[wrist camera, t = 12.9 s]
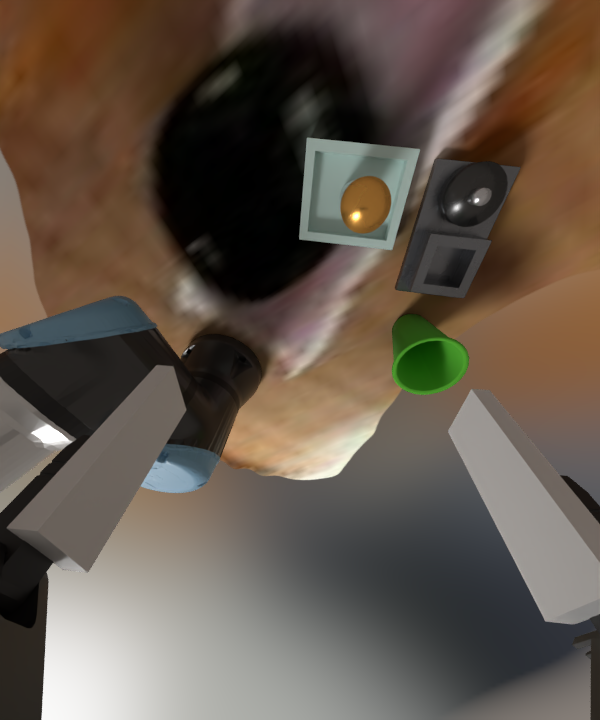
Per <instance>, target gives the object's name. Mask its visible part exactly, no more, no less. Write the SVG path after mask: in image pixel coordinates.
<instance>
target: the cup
mask: <svg viewBox="0 0 600 720" xmlns="http://www.w3.org/2000/svg"><path fill="white" fill-rule="evenodd" d="M392 338H393V355H394V363H393V366H392V375H393V378H394V380H395V382H396V383H397V384H398V385H399V387H401V388H402V389H404V390H406V391H407V392H411V393H414V394H421V395H424V394H433V393H438V392H441V391H443V390H446V389H448V388H450V387H451V386H453V385H454V384H456V383H457V382H458V381H459V380H460V379H461V378H462V377H463V375H464V374H465V373H466V370H467V368H468V364H469V356H468V352H467V350H466V348H465V347H464V346H463V345H462V344H461V343H460V342H458V341H457V340H454V339H452V338H449V337H447V336H446V335H445V334H444V333H442V332H441V331H440V330H438V329H437V328H436V327H435V326H433V325H432V324H431V323H430V322H428V321H427V320H426V319H424V318H423V317H422V316H420V315H417V314H407V315H404V316H402V317H400V318H399V319H398V320H397V321H396V322H395V324H394V326H393V328H392Z"/></svg>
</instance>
